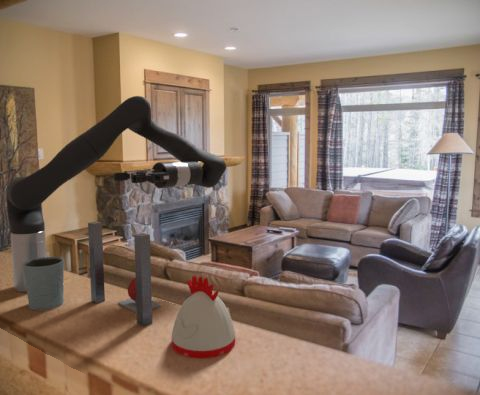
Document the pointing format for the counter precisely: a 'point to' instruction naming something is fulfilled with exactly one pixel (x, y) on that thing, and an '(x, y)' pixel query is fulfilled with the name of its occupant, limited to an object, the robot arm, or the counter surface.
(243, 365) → the counter surface
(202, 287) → the kitchen timer
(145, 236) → the right post
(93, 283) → the left post
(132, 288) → the onion
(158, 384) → the counter surface
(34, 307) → the teal cup
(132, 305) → the mat
